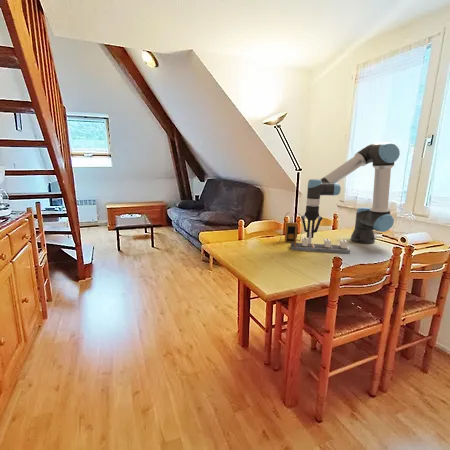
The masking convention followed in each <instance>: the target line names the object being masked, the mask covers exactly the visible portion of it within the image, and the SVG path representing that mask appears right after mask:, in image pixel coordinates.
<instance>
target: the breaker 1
mask: <svg viewBox="0 0 450 450" xmlns="http://www.w3.org/2000/svg"><path fill="white" fill-rule="evenodd" d="M301 243H302V246H308V238H307V237H301Z"/></svg>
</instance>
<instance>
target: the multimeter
mask: <svg viewBox="0 0 450 450" xmlns="http://www.w3.org/2000/svg"><path fill="white" fill-rule="evenodd" d="M288 214H289V212H287V213H286V214H285V216H284V220H283V221H284V225H283V226H284V227H283V230H282V233H281V235H280V239H279V240H282V239H281V238H282V236H283V233H284V242H285V243H291V242H293V243H297V241H299V242H301V241H302V237H300V239H297V238H298V231H299V228H298V223H297V222H294V218H291V220H290V222H288V221H287V222H286V221H285V220H286V219H285V218H286V217H287V215H288ZM296 214H297V215H299V216H300V218H301V216H302V215H301V214H300V213H298V212H296V213H294V215H296ZM301 220H302V218H301ZM301 234H303V230H301Z"/></svg>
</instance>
